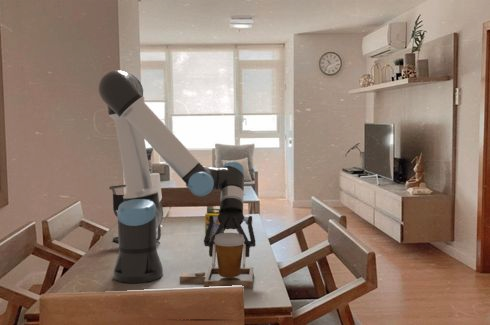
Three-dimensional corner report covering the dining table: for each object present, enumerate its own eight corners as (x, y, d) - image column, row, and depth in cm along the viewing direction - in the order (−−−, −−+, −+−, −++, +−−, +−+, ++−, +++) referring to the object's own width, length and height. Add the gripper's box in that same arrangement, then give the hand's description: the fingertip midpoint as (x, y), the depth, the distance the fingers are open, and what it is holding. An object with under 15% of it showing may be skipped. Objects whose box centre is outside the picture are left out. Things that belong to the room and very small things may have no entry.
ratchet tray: (176, 287, 154) (176, 279, 153) (184, 273, 168) (184, 266, 167) (252, 288, 153) (252, 280, 153) (253, 273, 167) (253, 266, 167)
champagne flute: (144, 226, 237) (143, 174, 235) (154, 224, 243) (153, 172, 241) (155, 228, 234) (154, 175, 231) (165, 225, 239) (164, 173, 237)
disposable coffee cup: (241, 280, 154) (241, 240, 153) (210, 278, 156) (209, 238, 155) (247, 270, 164) (247, 233, 162) (218, 269, 166) (217, 231, 164)
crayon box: (205, 237, 217) (204, 209, 216) (207, 235, 219) (207, 208, 218) (222, 238, 215) (221, 210, 214) (224, 236, 218) (223, 209, 217)
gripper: (264, 210, 173) (264, 272, 159) (200, 209, 174) (194, 271, 160) (264, 196, 167) (264, 259, 153) (198, 196, 168) (191, 259, 154)
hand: (228, 265), depth 156 cm, fingers closed on disposable coffee cup, 8 cm apart
